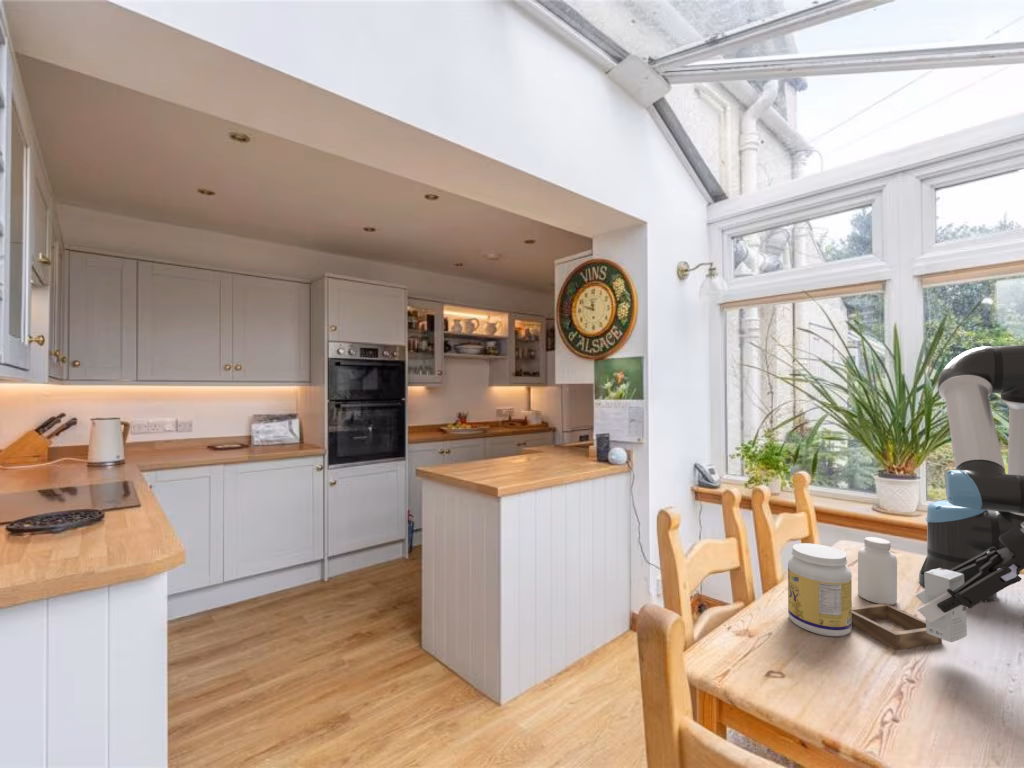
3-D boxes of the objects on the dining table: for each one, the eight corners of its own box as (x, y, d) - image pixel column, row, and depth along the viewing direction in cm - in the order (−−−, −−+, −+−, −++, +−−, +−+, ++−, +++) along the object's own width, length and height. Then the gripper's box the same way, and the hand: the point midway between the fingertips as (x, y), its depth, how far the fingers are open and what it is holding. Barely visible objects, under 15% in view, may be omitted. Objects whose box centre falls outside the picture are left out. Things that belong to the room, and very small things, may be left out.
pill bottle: (904, 607, 116) (904, 545, 116) (867, 604, 118) (867, 543, 118) (886, 593, 124) (885, 536, 124) (851, 590, 126) (851, 534, 126)
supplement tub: (779, 610, 115) (779, 540, 115) (835, 614, 113) (834, 543, 113) (801, 636, 103) (800, 558, 103) (864, 641, 101) (863, 561, 101)
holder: (885, 616, 112) (885, 603, 112) (941, 642, 100) (941, 628, 100) (843, 621, 109) (843, 608, 109) (896, 649, 97) (896, 634, 97)
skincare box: (952, 643, 90) (951, 580, 90) (924, 632, 94) (922, 571, 94) (968, 635, 93) (967, 574, 93) (939, 625, 97) (938, 566, 97)
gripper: (1080, 580, 76) (945, 647, 86) (1045, 545, 92) (935, 605, 102) (1032, 541, 79) (907, 610, 89) (1006, 514, 95) (903, 575, 105)
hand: (922, 607), depth 96 cm, fingers closed on skincare box, 7 cm apart
